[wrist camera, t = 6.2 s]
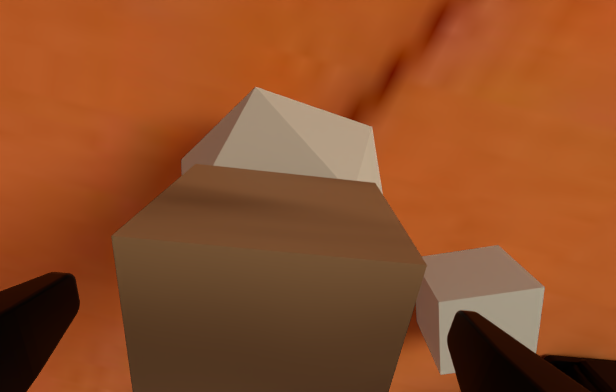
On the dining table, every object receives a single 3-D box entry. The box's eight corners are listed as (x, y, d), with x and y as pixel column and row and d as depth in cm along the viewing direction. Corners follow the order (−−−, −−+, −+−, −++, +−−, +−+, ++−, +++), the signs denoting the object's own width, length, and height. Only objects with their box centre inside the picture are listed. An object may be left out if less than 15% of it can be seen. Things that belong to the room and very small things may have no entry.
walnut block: (346, 320, 11) (369, 453, 7) (198, 307, 10) (139, 440, 7) (375, 182, 9) (426, 264, 5) (195, 163, 8) (110, 235, 5)
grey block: (492, 309, 20) (534, 362, 17) (416, 320, 21) (440, 374, 17) (496, 244, 19) (544, 287, 15) (412, 256, 19) (438, 302, 15)
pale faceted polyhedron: (176, 152, 17) (148, 348, 12) (218, 1, 11) (197, 281, 6) (308, 181, 21) (329, 339, 16) (397, 81, 14) (478, 292, 9)
